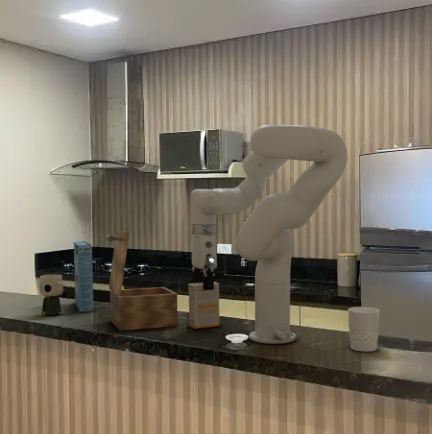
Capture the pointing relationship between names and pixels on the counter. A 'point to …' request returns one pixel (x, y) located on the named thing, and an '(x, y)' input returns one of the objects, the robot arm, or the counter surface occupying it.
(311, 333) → the counter surface
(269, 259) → the robot arm
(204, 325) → the supplement box
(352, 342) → the white cup
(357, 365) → the counter surface
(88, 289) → the gum box
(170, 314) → the chest
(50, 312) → the character mug
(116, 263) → the lid
